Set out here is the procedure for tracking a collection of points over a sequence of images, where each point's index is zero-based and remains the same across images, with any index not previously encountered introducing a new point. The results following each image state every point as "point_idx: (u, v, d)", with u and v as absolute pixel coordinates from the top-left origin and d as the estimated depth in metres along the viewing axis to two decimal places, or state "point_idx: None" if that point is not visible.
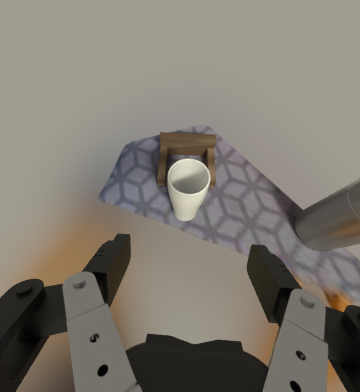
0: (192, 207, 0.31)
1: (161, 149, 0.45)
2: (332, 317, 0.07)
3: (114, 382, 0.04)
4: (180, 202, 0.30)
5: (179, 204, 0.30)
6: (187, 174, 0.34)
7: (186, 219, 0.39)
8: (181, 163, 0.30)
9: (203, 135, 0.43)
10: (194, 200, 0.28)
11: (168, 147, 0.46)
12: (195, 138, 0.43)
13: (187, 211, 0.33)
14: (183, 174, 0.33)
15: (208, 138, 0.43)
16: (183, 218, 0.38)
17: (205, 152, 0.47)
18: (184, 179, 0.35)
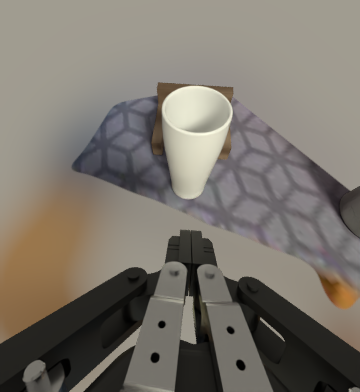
0: (200, 168, 0.20)
1: (159, 107, 0.34)
2: (230, 287, 0.09)
3: (158, 376, 0.04)
4: (182, 156, 0.18)
5: (180, 160, 0.19)
6: (194, 123, 0.22)
7: (189, 196, 0.28)
8: (185, 94, 0.19)
9: (215, 87, 0.32)
10: (204, 149, 0.17)
11: None
12: None
13: (192, 177, 0.22)
14: (187, 121, 0.22)
15: (223, 91, 0.32)
16: (185, 194, 0.27)
17: None
18: None
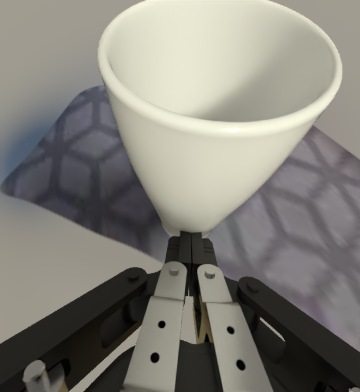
0: (217, 214, 0.08)
1: None
2: (230, 287, 0.09)
3: (158, 376, 0.04)
4: (170, 192, 0.07)
5: (166, 200, 0.07)
6: (201, 107, 0.10)
7: None
8: (181, 23, 0.07)
9: None
10: (240, 180, 0.05)
11: None
12: None
13: (195, 225, 0.10)
14: (186, 103, 0.10)
15: None
16: None
17: None
18: None
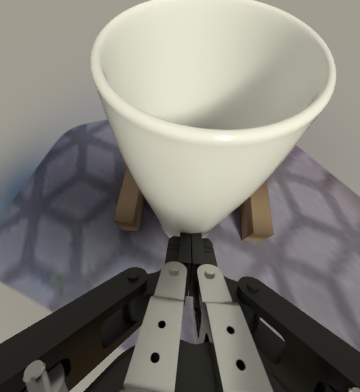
0: (216, 216, 0.08)
1: None
2: (230, 287, 0.09)
3: (158, 376, 0.04)
4: (168, 197, 0.06)
5: (165, 204, 0.07)
6: (196, 109, 0.10)
7: None
8: (173, 26, 0.07)
9: None
10: (238, 184, 0.05)
11: None
12: None
13: (195, 227, 0.10)
14: (181, 105, 0.10)
15: None
16: None
17: None
18: None
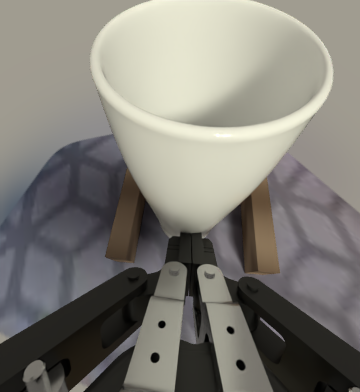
0: (215, 215, 0.08)
1: None
2: (230, 287, 0.09)
3: (158, 376, 0.04)
4: (168, 196, 0.07)
5: (164, 203, 0.07)
6: (195, 109, 0.10)
7: None
8: (172, 26, 0.07)
9: None
10: (238, 182, 0.05)
11: None
12: None
13: (195, 227, 0.10)
14: (180, 105, 0.10)
15: None
16: None
17: None
18: None
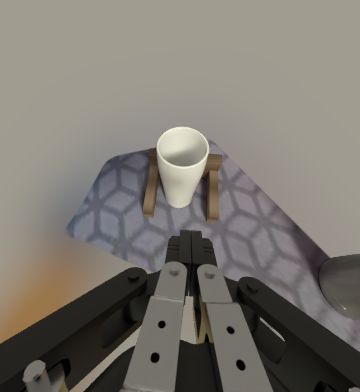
0: (187, 187, 0.26)
1: (150, 169, 0.35)
2: (230, 287, 0.09)
3: (158, 376, 0.04)
4: (172, 180, 0.24)
5: (171, 183, 0.25)
6: (181, 150, 0.28)
7: (180, 205, 0.34)
8: (173, 133, 0.25)
9: None
10: (189, 176, 0.23)
11: None
12: None
13: (181, 193, 0.28)
14: (176, 149, 0.28)
15: (211, 159, 0.33)
16: (176, 204, 0.33)
17: (206, 174, 0.37)
18: (178, 157, 0.30)
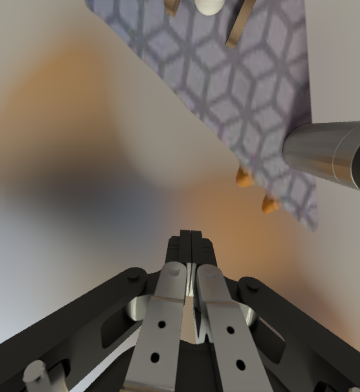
0: None
1: None
2: (230, 287, 0.09)
3: (158, 376, 0.04)
4: None
5: None
6: None
7: (205, 11, 0.30)
8: None
9: None
10: None
11: None
12: None
13: None
14: None
15: None
16: (202, 6, 0.30)
17: None
18: None
